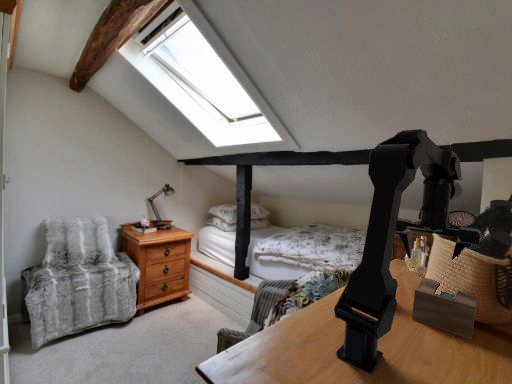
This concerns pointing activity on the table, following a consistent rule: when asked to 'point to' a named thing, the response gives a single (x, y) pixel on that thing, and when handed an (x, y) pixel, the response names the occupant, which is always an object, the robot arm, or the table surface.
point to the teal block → (446, 294)
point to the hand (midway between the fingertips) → (429, 262)
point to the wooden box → (444, 309)
